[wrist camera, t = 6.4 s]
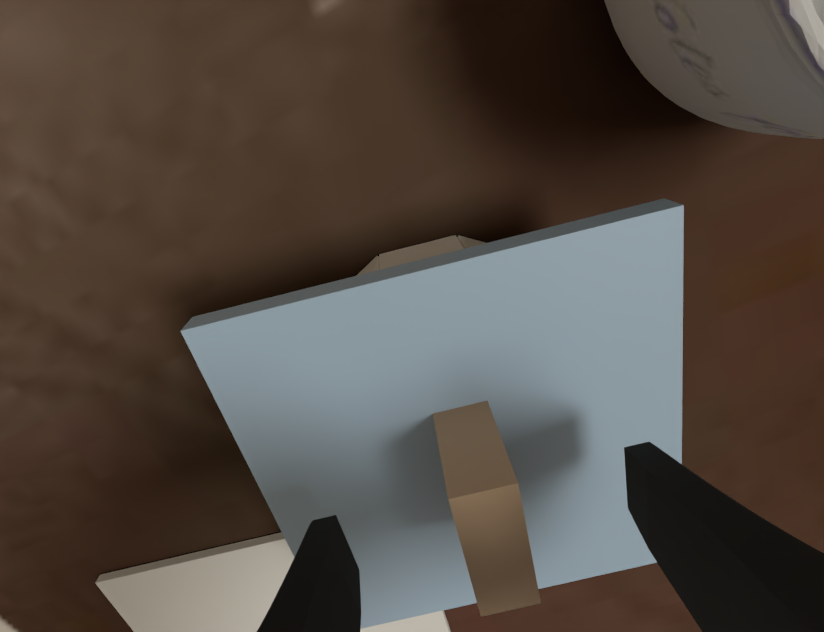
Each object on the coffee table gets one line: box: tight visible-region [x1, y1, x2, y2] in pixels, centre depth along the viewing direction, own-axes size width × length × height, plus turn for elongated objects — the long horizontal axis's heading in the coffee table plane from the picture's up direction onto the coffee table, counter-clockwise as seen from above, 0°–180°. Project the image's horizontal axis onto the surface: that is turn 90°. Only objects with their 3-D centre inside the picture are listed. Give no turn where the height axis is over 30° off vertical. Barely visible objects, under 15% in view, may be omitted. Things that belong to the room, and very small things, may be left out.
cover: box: [181, 199, 684, 629], centre depth 12 cm, size 12×12×4 cm
